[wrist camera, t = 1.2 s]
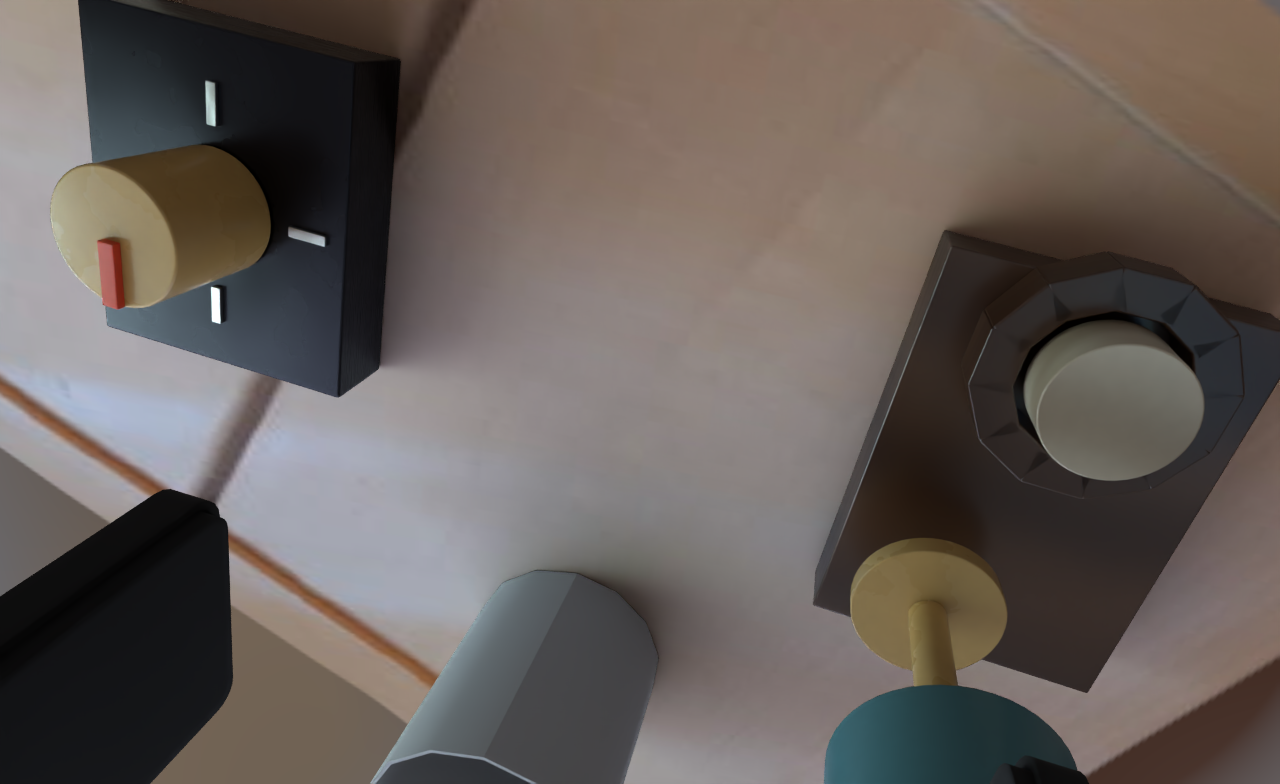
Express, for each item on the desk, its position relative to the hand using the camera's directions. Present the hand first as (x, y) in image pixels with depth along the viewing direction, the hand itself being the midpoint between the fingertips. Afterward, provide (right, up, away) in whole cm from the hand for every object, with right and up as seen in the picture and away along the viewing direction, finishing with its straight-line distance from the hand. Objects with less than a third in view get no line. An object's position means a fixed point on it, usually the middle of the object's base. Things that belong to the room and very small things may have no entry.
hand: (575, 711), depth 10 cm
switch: (+14, +4, +14) cm, 20 cm away
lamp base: (+14, +1, +19) cm, 24 cm away
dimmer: (-13, +11, +22) cm, 28 cm away
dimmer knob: (-14, +10, +19) cm, 26 cm away
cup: (-2, -8, +28) cm, 29 cm away
